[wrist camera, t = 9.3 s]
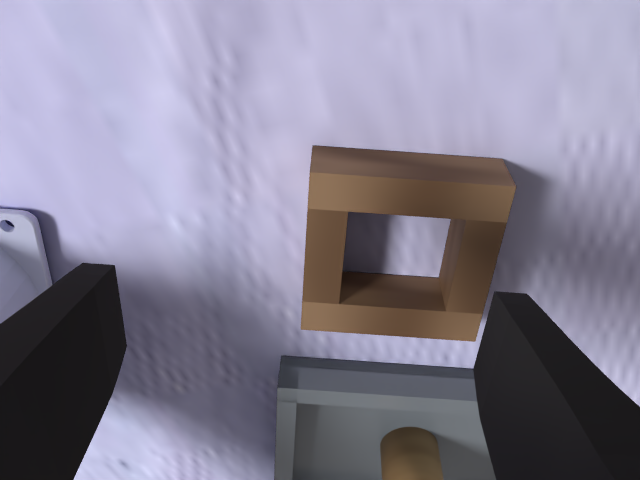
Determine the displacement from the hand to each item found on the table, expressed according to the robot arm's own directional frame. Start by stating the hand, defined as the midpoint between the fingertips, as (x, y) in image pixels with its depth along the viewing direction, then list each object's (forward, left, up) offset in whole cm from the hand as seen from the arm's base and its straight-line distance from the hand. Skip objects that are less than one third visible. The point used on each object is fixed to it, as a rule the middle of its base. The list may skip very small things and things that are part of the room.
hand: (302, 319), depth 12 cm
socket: (+3, -4, -10) cm, 11 cm away
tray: (+5, -15, -10) cm, 19 cm away
